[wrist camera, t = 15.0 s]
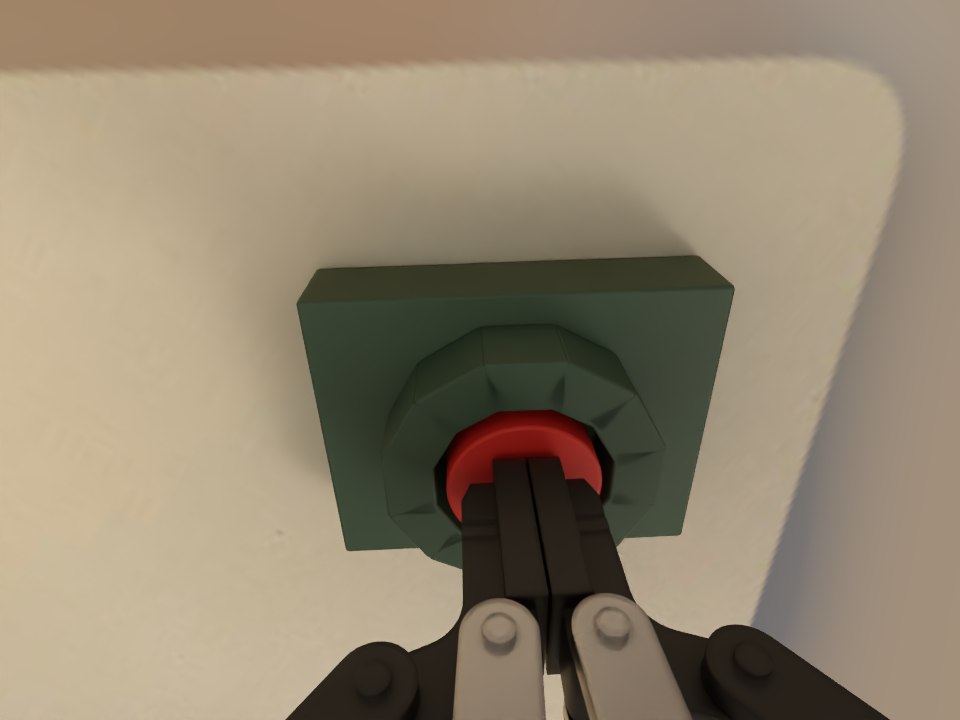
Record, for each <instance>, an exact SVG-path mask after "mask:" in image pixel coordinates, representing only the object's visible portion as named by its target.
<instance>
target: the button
mask: <svg viewBox="0 0 960 720" xmlns="http://www.w3.org/2000/svg"><path fill="white" fill-rule="evenodd" d="M550 456H559V458H560V460H561V464H562V468H563V472H564V476H565V479H579V478H584V479H585V480H586V481H587V482H588V483H589V484H590V485H591V486H592V487H593V489H594V490H595V491H596V492H597V493H598V494H599V495H600V491H601V486H602V472H601V467H600V464H599V461H598V458H597V455H596V452H595V450H594V447H593V444H592V441H591V438H590V435H589V432H588V429H587V427H586V424H584V423H582V422H580V421H577V420H575V419H573V418H571V417H568V416H566V415H564V414H562V413H559V412H557V411H555V410H553V409H547V410H523V411H499V412H497V413H495V414H493V415H491V416H489V417H487V418H485V419H483V420H481V421H479V422H477V423H475V424H473V425H472V426H470V427H468V428H466V429H464V430H462V431H460V432H458V433H456V435H455V437H454V438H453V440H452V441H451V443H450V444H449V446H448V447H447V487H446V492H447V498H448V501H449V504H450V507H451V509H452V510H453V512H454V514H455V515H456V517H457V518H458V519H459V521H460V522H461V523H462V511H461V501H462V499H463V497H464V495H465V493H466V491H467V489H468V487H469V485H470V484H472V483H493V480H492V460H493V459H508V458H525V462H526V458H528V457H550Z"/></svg>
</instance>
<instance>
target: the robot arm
mask: <svg viewBox="0 0 960 720" xmlns="http://www.w3.org/2000/svg"><path fill="white" fill-rule="evenodd" d="M492 480H493V483H472V484H470V485H469V487H468V489H467V491H466V493H465V495H464V497H463V499H462V501H461V511H462V568H463V607H462V611H461V614H460V617H459V619H458V621H457V622H456V624H455V625H454V627H453V628H452V629H451V630H450V631H449V632H448V633H447V634H446V635H445V636H443V637H442V638H440V639H439V640H437V641H435V642H433V643H431V644H429V645H426V646H423V647H421V648H418V649H416V650H413V651H411V652H407V651H406V650H405V649H404V648H402V647H400V646H399V645H396V644H394V643H390V642H372V643H368V644H365V645H363V646H361V647H359V648H356V649H355V650H354V651H352V652H351V653H349V654H348V655H347V656H346V657H345V658H344V659H343V660H342V661H341V662H340V663H339V664H338V665H337V666H336V667H335V668H334V669H333V670H332V671H331V673H330V674H329V675H328V676H327V677H326V678H325V679H324V680H323V681H322V682H321V683H320V684H319V685H318V686H317V687H316V688H315V689H314V690H313V691H312V692H311V693H310V695H309V696H308V697H307V698H306V699H305V700H304V701H303V702H302V703H301V704H300V705H299V706H298V707H297V708H296V709H295V710H294V711H293V712H292V713H291V714H290V715H289V717H288V718H287V719H286V720H546V715H545V700H544V685H543V675H544V663H546V670H547V675H551V674H561V680H562V686H563V692H564V706H563V717H564V720H889V719H888V718H887V717H885V716H884V715H882V714H881V713H880V712H878V711H877V710H875V709H874V708H872V707H871V706H869V705H868V704H867V703H865V702H864V701H862V700H861V699H860V698H858V697H857V696H855V695H854V694H852V693H851V692H849V691H848V690H847V689H845V688H844V687H842V686H841V685H839V684H838V683H837V682H835V681H834V680H832V679H831V678H829V677H828V676H827V675H825V674H824V673H822V672H821V671H819V670H818V669H817V668H815V667H814V666H812V665H811V664H809V663H808V662H806V661H805V660H804V659H802V658H801V657H799V656H798V655H796V654H795V653H794V652H792V651H791V650H789V649H788V648H787V647H785V646H783V645H782V644H781V643H779V642H778V641H776V640H775V639H773V638H772V637H771V636H769V635H767V634H766V633H764V632H762V631H760V630H758V629H755V628H752V627H749V626H744V625H726V626H723V627H720V628H719V629H717V630H715V631H714V632H713V633H712V634H711V636H710V637H709V639H708V638H704V637H700V636H696V635H692V634H688V633H684V632H680V631H676V630H673V629H670V628H667V627H665V626H663V625H661V624H659V623H657V622H656V621H654V620H653V619H651V618H650V617H649V616H647V615H646V613H645V612H644V611H643V610H642V609H641V608H640V607H639V606H638V605H637V604H636V602H635V600H634V599H633V597H632V594H631V592H630V589H629V586H628V583H627V580H626V577H625V574H624V570H623V567H622V564H621V561H620V558H619V555H618V552H617V549H616V546H615V543H614V540H613V537H612V534H611V533H610V527H609V524H608V521H607V518H606V517H605V512H604V509H603V506H602V503H601V500H600V497H599V494H598V493H597V492H596V491H595V490H594V489H593V487H592V486H591V485H590V484H589V483H588V482H587V481H586V480H585V479H584V478H579V479H565V476H564V472H563V468H562V464H561V460H560V458H559V456H550V457H528V458H526V462H525V458H508V459H493V460H492Z"/></svg>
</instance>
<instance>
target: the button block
mask: <svg viewBox="0 0 960 720" xmlns="http://www.w3.org/2000/svg"><path fill="white" fill-rule="evenodd" d="M734 290H735V289H734V286H733V285H732V284H731V283H730V282H729V281H728V280H726V279H725V278H724V277H723V276H722V275H721V274H719V273H718V272H717V271H716V270H715V269H713V268H712V267H711V266H710V265H709V264H708V263H706V262H705V261H704V260H703V259H702V258H701V257H699V256H685V257H657V258H629V259H600V260H572V261H544V262H516V263H487V264H459V265H431V266H403V267H374V268H346V269H319V270H317V271H316V272H315V274H314V276H313V277H312V279H311V280H310V282H309V284H308V285H307V287H306V289H305V290H304V292H303V293H302V295H301V297H300V298H299V300H298V301H297V310H298V315H299V320H300V324H301V329H302V334H303V339H304V344H305V349H306V354H307V359H308V364H309V369H310V374H311V379H312V384H313V389H314V394H315V398H316V403H317V408H318V413H319V418H320V423H321V428H322V433H323V438H324V443H325V448H326V453H327V458H328V463H329V468H330V472H331V477H332V482H333V487H334V492H335V497H336V502H337V507H338V512H339V517H340V522H341V527H342V532H343V537H344V542H345V546H346V550H347V551H362V550H383V549H404V548H420V549H421V550H422V551H423V552H424V553H425V554H426V555H427V556H428V557H430V558H431V559H433V560H436V561H439V562H442V563H445V564H448V565H451V566H454V567H457V568H460V569H463V568H462V523H461V522H460V521H459V519H458V518H457V517H456V515H455V514H454V512H453V510H452V509H451V507H450V504H449V501H448V498H447V492H446V487H447V447H448V446H449V444H450V443H451V441H452V440H453V438H454V437H455V435H456V433H458V432H460V431H462V430H464V429H466V428H468V427H470V426H472V425H473V424H475V423H477V422H479V421H481V420H483V419H485V418H487V417H489V416H491V415H493V414H495V413H497V412H499V411H523V410H547V409H553V410H555V411H557V412H559V413H562V414H564V415H566V416H568V417H571V418H573V419H575V420H577V421H580V422H582V423H584V424H586V427H587V429H588V432H589V435H590V438H591V441H592V444H593V447H594V450H595V452H596V455H597V458H598V461H599V464H600V467H601V472H602V486H601V491H600V495H599V497H600V500H601V503H602V506H603V509H604V512H605V517H606V518H607V521H608V524H609V527H610V533H611V534H612V537H613V540H614V543H615V546H616V547H617V546H618V545H619V544H620V543H621V542H622V540H623V539H624V538H635V537H656V536H677V535H680V534H681V532H682V527H683V522H684V518H685V513H686V509H687V504H688V500H689V495H690V491H691V486H692V481H693V477H694V472H695V468H696V463H697V459H698V454H699V450H700V445H701V440H702V436H703V431H704V427H705V422H706V418H707V413H708V409H709V404H710V399H711V395H712V390H713V386H714V381H715V377H716V372H717V368H718V363H719V358H720V354H721V349H722V345H723V340H724V336H725V331H726V327H727V322H728V317H729V313H730V308H731V304H732V299H733V295H734Z"/></svg>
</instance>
